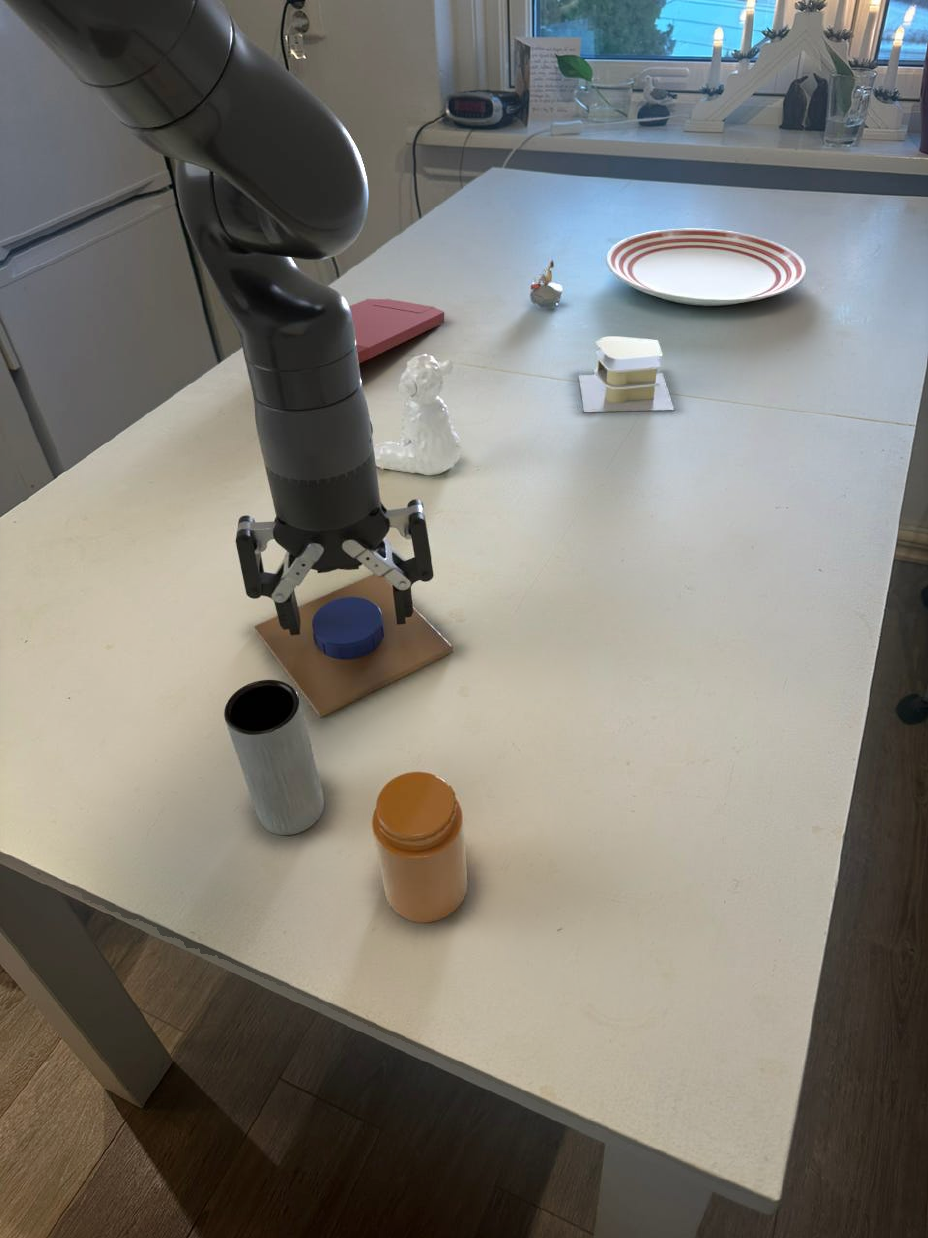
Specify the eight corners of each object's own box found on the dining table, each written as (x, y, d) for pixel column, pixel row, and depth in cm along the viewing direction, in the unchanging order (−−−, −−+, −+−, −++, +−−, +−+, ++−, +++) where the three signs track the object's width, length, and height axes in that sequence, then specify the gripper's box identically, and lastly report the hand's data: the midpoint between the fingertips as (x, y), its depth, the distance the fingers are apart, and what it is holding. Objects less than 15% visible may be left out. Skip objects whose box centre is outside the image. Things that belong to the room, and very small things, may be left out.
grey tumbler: (326, 830, 58) (300, 727, 51) (257, 841, 58) (222, 739, 51) (323, 776, 61) (298, 673, 54) (258, 787, 61) (224, 684, 54)
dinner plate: (783, 247, 133) (788, 224, 131) (821, 321, 113) (827, 295, 111) (602, 249, 136) (603, 226, 134) (607, 321, 116) (608, 297, 114)
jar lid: (396, 622, 72) (394, 606, 71) (363, 667, 68) (360, 651, 67) (337, 606, 74) (334, 590, 73) (302, 649, 70) (298, 633, 69)
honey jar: (402, 936, 52) (388, 856, 46) (372, 867, 56) (356, 785, 50) (481, 902, 54) (476, 820, 48) (447, 837, 57) (439, 754, 51)
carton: (373, 331, 125) (264, 381, 106) (372, 296, 122) (259, 340, 104) (448, 345, 121) (347, 400, 102) (449, 309, 118) (345, 358, 99)
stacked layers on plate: (662, 373, 104) (667, 328, 101) (673, 410, 98) (679, 364, 94) (578, 375, 105) (580, 331, 101) (584, 412, 98) (586, 366, 94)
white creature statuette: (431, 429, 97) (424, 324, 89) (487, 457, 92) (484, 348, 84) (366, 464, 92) (351, 356, 84) (421, 494, 87) (411, 383, 79)
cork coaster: (320, 718, 65) (318, 713, 65) (255, 631, 73) (253, 625, 73) (453, 652, 70) (453, 646, 70) (379, 576, 78) (378, 571, 77)
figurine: (563, 311, 119) (565, 266, 115) (531, 313, 119) (531, 268, 115) (559, 296, 123) (560, 252, 119) (528, 297, 123) (528, 254, 119)
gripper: (206, 486, 56) (256, 665, 67) (426, 465, 57) (441, 645, 68) (217, 428, 62) (263, 602, 73) (418, 410, 63) (433, 584, 73)
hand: (348, 622), depth 70 cm, fingers open, 8 cm apart
